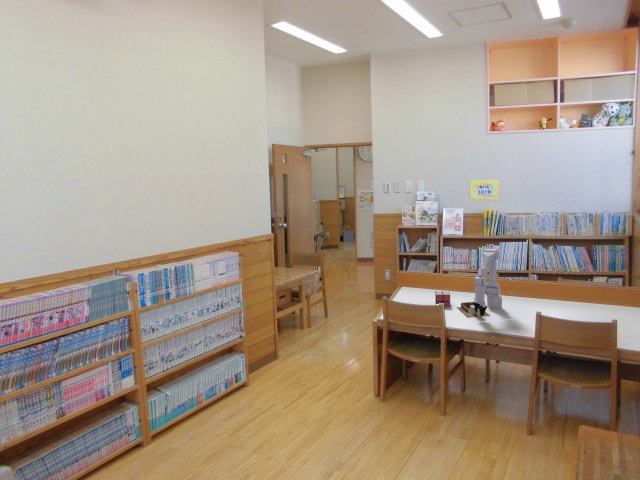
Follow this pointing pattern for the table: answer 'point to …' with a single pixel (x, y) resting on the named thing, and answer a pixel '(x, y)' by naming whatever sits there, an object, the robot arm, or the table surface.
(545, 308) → the table surface
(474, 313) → the sage block
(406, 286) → the table surface
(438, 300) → the puzzle cube
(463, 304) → the shelf lane
